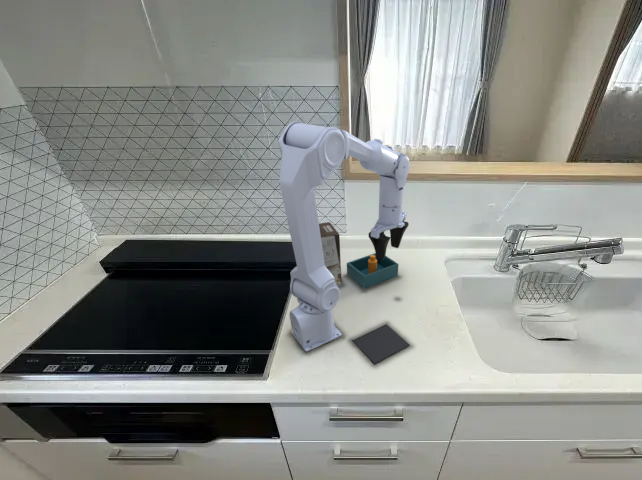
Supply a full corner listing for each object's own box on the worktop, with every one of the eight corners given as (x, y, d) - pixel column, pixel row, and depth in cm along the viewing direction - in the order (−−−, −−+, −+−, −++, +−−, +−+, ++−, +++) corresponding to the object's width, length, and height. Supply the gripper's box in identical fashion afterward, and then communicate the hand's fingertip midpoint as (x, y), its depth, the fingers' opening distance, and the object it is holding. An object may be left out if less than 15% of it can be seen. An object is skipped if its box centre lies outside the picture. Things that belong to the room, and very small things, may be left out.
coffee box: (342, 285, 92) (340, 234, 83) (321, 290, 91) (315, 238, 81) (333, 270, 99) (330, 221, 89) (313, 274, 97) (307, 224, 88)
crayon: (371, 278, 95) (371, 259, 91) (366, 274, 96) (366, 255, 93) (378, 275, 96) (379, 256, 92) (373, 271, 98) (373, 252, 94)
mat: (374, 364, 69) (374, 363, 69) (351, 340, 75) (351, 339, 74) (409, 345, 74) (409, 344, 73) (385, 324, 79) (385, 323, 79)
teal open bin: (364, 290, 91) (364, 276, 88) (347, 275, 97) (346, 262, 94) (397, 277, 96) (398, 264, 94) (379, 264, 102) (379, 251, 100)
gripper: (389, 216, 73) (386, 268, 81) (418, 198, 82) (413, 246, 91) (363, 210, 76) (363, 260, 84) (394, 193, 85) (391, 239, 94)
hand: (387, 252), depth 88 cm, fingers open, 7 cm apart
